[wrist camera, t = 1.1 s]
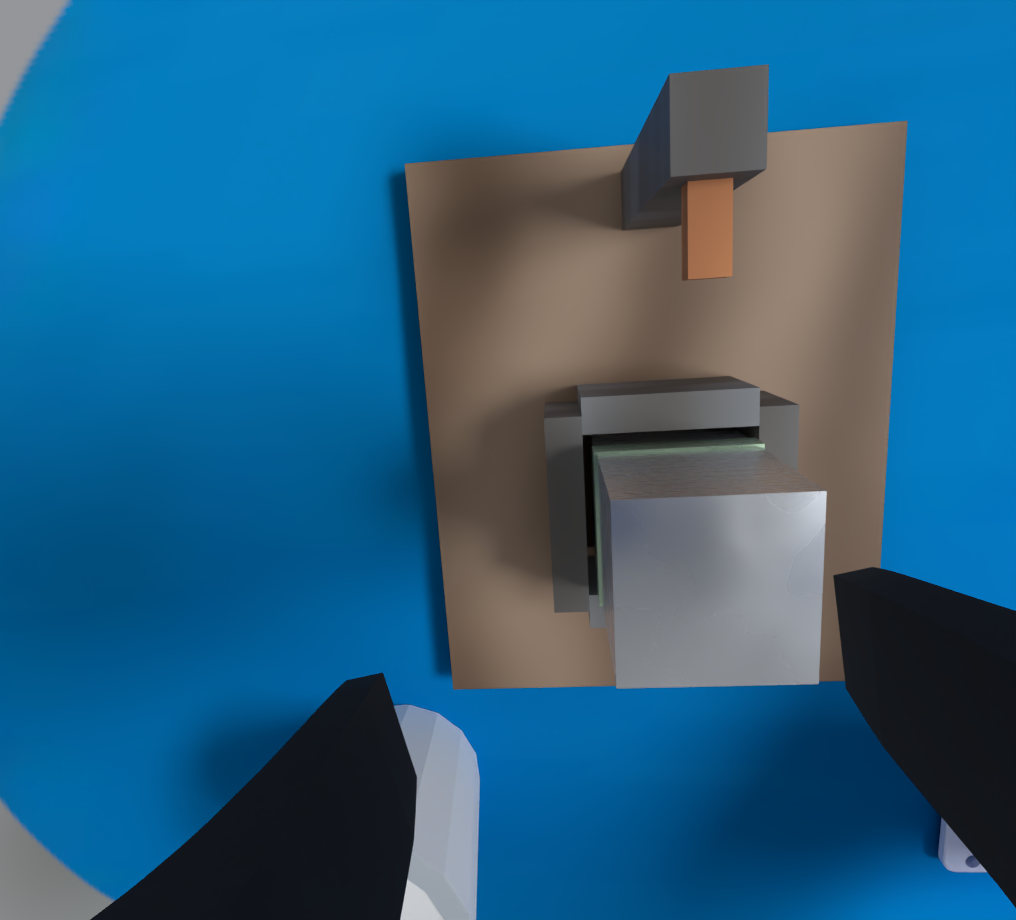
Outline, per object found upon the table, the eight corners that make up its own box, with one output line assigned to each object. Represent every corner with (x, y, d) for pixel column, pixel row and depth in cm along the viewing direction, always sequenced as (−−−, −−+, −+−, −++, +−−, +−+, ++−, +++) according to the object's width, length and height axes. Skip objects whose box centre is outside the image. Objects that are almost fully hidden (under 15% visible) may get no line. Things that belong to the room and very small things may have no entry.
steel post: (724, 417, 20) (831, 486, 12) (723, 546, 21) (823, 687, 13) (585, 424, 20) (605, 496, 13) (591, 552, 21) (612, 692, 14)
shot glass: (462, 669, 24) (426, 812, 17) (519, 826, 25) (507, 1016, 19) (289, 713, 25) (190, 866, 18) (354, 863, 26) (284, 1058, 19)
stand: (889, 130, 19) (1182, -24, 10) (859, 664, 23) (1055, 892, 14) (411, 170, 20) (299, 62, 11) (457, 673, 24) (400, 891, 15)
